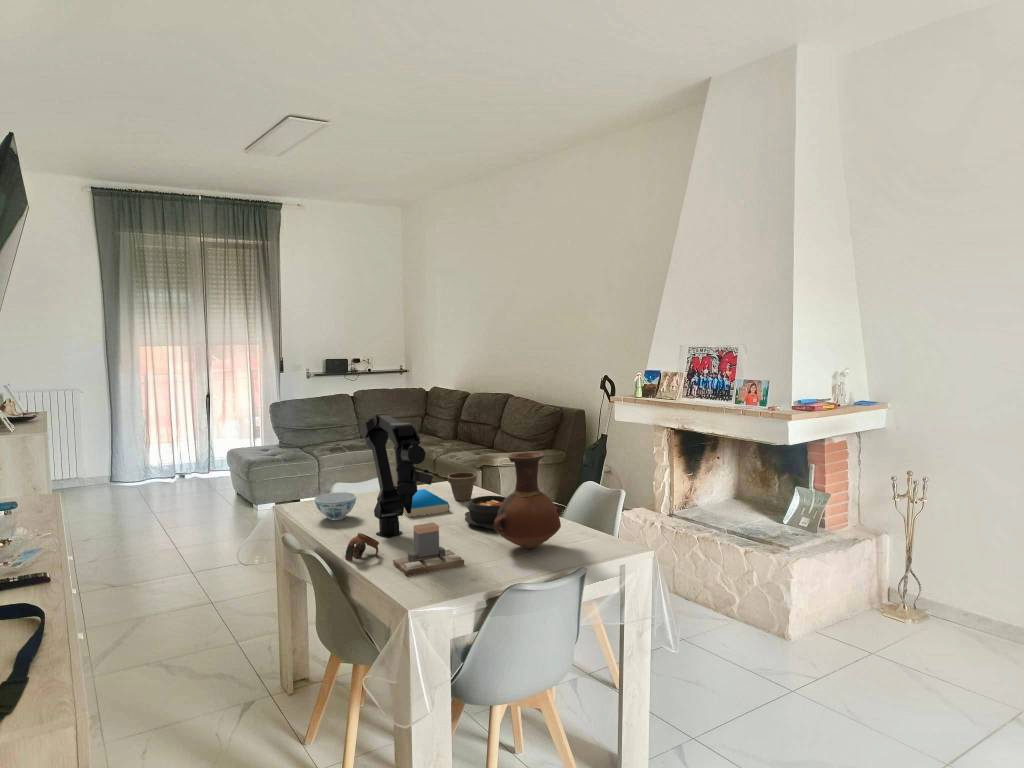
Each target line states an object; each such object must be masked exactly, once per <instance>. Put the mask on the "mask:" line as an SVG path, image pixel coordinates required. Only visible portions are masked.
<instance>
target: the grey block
mask: <svg viewBox="0 0 1024 768" xmlns="http://www.w3.org/2000/svg"><path fill="white" fill-rule="evenodd" d="M439 547H440V526H439V525H438V524H437V523H436V522H426V523H421V524H414V525H413V552H414V553H416V554H417V559H421V558H426V557H432V556H437V555H439Z"/></svg>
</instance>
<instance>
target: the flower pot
mask: <svg viewBox="0 0 1024 768" xmlns="http://www.w3.org/2000/svg"><path fill="white" fill-rule="evenodd" d="M476 481H477V474H476V473H474V472H469V471H462V472H461V471H460V472H454V473H450V474H448V475H447V482H448V483H449V484H450V487H451V491H452V495H453V498H454V500H455V501H457V500H459V501H458V502H467V501H466V500H468V501H470V500H471V499H472V496H473V490H474V484H475V482H476Z"/></svg>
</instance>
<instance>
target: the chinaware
mask: <svg viewBox="0 0 1024 768" xmlns="http://www.w3.org/2000/svg"><path fill="white" fill-rule="evenodd" d="M313 500H314V504H315V506H316V508H317V510H318V511H319V512H320V513H321V514H322V515H323V516H325V517H326V519H327V518H328V519H341V520H343V519H342V518H344V519H346V516H347V515H348V514H349V513H350V512H351V511H352V510H353V509H354V506H355V504H356V501H357V494H355V493H353V492H347V491H346V492H345V491H344V492H343V491H340V492H339V491H337V492H335V491H334V492H328V493H324V494H320V495H317V496H316V497H314V499H313ZM328 519H327V520H328Z"/></svg>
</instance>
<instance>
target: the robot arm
mask: <svg viewBox="0 0 1024 768" xmlns="http://www.w3.org/2000/svg"><path fill="white" fill-rule="evenodd" d="M361 433H362V437H363V438H364V442H365V444H366V446H368V448H370V450H371V451H372V457H373V461H374V466H375V471H376V476H377V481H378V485H379V492H378V495H377V498H376V501H377V502H376V505H375V507H374V509H373V513H374V517H375V518H377V519H378V520H379V521H378V522H379V523H378V525H379V531H377V532H376V533H375V534H376V535H377V536H382V537H385V538H391V537H395V536H397V535H400V534H401V535H402V534H403V531H402V530H400V521H399V517H402V516H404V514H403V511H404V507H405V509H406V511H407V513H411V508H412V498H413V496H414V494H415V493H416V492H417V490H418V484H417V482H420V483H424V484H426V485H427V486H428V485H429V486H431V485H432V482H433V479H434V474H432V473H430V470H429V469H426V468H423V470H422V471H421V470H417V469H416V466H415V465H420V464H422V463H423V461H424V460H425V458H426V451H425V449H424V448H423V447H422V446H421V445H420V444H421V438H420V436H419V434H418V432H417V431H416V427H414V425H413V424H412V423H410V422H401V421H399V420H397V419H396V418H394V417H393V416H391V415H390V413H387V412H382V413H375V414H373V416H372V418H370V419H369V420H368V421H366V422H365V423H364V425H363V427H362V432H361ZM388 439H390V440H391V442H392V444H393V450H394V457H395V466H396V467H395V472H396V481H397V482H396V484H397V485H396V486H395V484H394V480H393V475H392V470H391V466H390V461H389V456H388V452H387V446H386V445H387V442H388Z"/></svg>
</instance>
